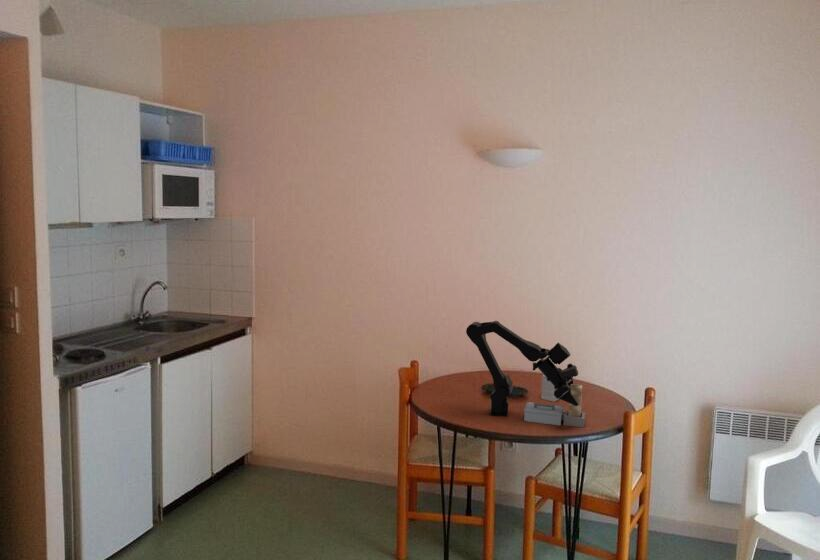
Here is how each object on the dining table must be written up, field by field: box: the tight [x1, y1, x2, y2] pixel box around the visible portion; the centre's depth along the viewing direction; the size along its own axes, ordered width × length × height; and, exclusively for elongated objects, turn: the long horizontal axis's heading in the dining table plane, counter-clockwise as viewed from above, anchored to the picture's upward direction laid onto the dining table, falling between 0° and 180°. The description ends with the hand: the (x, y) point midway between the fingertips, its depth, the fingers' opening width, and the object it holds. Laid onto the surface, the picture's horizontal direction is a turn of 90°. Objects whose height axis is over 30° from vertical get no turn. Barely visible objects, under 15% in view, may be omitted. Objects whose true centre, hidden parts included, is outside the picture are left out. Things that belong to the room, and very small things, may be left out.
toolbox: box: [523, 401, 586, 428], centre depth 260 cm, size 23×10×6 cm, turn 72°
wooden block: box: [568, 383, 583, 417], centre depth 257 cm, size 4×4×15 cm
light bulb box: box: [541, 374, 560, 402], centre depth 289 cm, size 11×7×11 cm, turn 141°
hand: (578, 401), depth 256 cm, fingers open, 9 cm apart
